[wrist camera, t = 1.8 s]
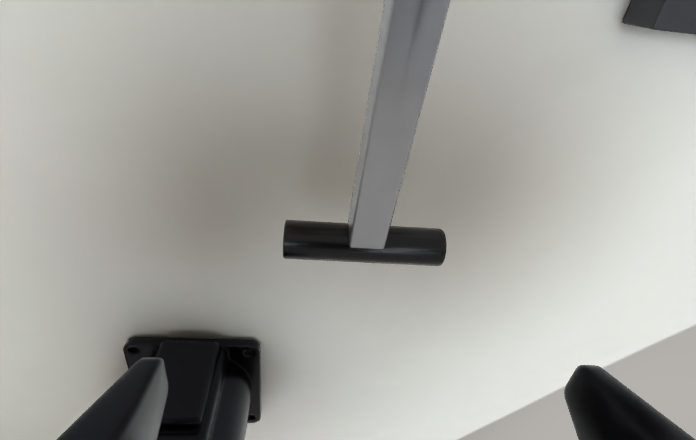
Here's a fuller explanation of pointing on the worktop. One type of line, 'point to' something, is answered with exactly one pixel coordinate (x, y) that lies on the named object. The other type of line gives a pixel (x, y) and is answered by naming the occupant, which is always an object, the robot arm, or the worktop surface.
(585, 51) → the worktop surface
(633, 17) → the control block
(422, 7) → the lever
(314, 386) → the worktop surface
